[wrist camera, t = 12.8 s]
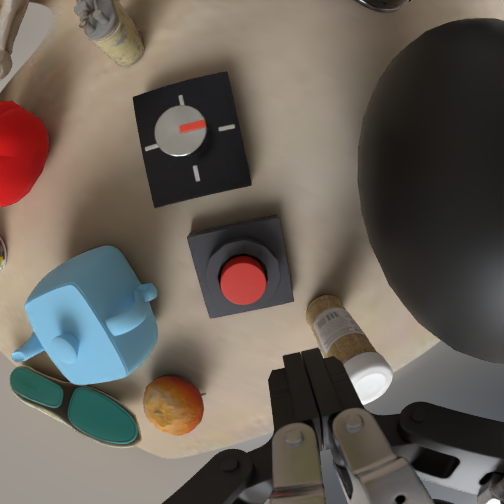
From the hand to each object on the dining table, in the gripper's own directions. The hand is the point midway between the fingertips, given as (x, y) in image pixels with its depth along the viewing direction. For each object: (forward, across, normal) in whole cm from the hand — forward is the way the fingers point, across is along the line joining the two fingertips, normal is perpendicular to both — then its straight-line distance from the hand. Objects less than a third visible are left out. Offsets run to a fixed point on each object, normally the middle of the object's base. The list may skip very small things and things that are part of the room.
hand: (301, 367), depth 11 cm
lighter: (+19, +10, -26) cm, 34 cm away
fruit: (+19, +15, +16) cm, 29 cm away
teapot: (+18, +20, +2) cm, 27 cm away
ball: (+19, -20, -4) cm, 28 cm away
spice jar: (+19, -5, +9) cm, 22 cm away
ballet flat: (+14, +32, +14) cm, 38 cm away
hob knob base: (+19, +5, -12) cm, 23 cm away
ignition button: (+16, +3, +1) cm, 16 cm away
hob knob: (+16, +5, -12) cm, 20 cm away
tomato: (+19, +25, -18) cm, 36 cm away
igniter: (+19, +3, +2) cm, 19 cm away
